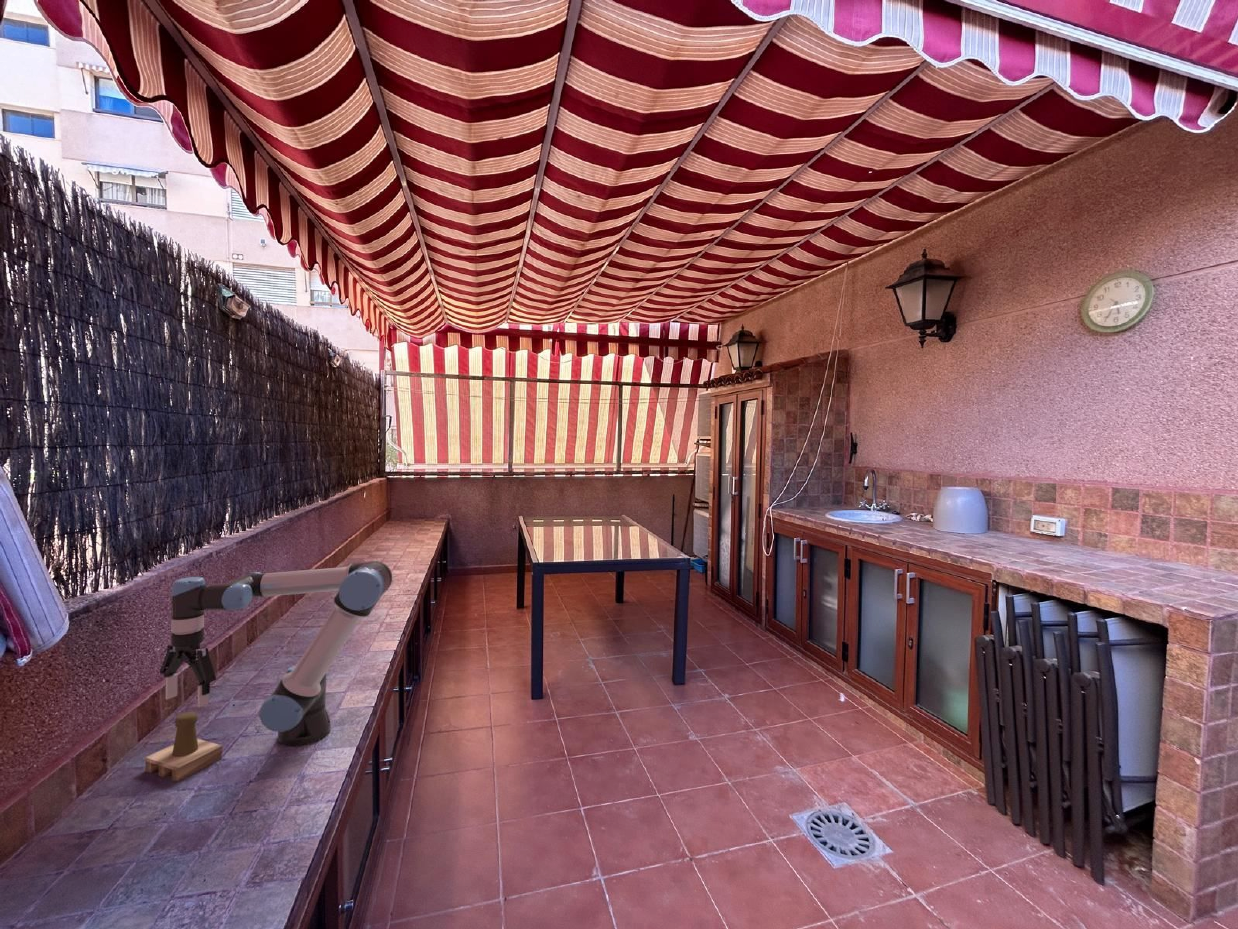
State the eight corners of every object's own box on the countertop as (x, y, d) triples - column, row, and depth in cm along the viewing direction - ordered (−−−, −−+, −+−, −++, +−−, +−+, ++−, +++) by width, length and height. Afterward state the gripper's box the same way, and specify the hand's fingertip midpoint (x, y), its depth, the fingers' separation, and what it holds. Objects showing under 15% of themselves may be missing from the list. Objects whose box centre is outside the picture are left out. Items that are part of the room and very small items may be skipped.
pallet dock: (222, 758, 157) (222, 745, 157) (178, 782, 145) (178, 768, 145) (190, 749, 161) (190, 736, 161) (144, 771, 149) (145, 757, 149)
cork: (195, 743, 157) (196, 707, 157) (200, 750, 154) (201, 714, 154) (170, 751, 153) (171, 714, 153) (174, 759, 149) (175, 721, 149)
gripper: (231, 631, 152) (230, 702, 153) (173, 621, 160) (172, 689, 160) (204, 640, 145) (203, 714, 146) (144, 629, 153) (144, 699, 153)
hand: (187, 701), depth 153 cm, fingers open, 13 cm apart
